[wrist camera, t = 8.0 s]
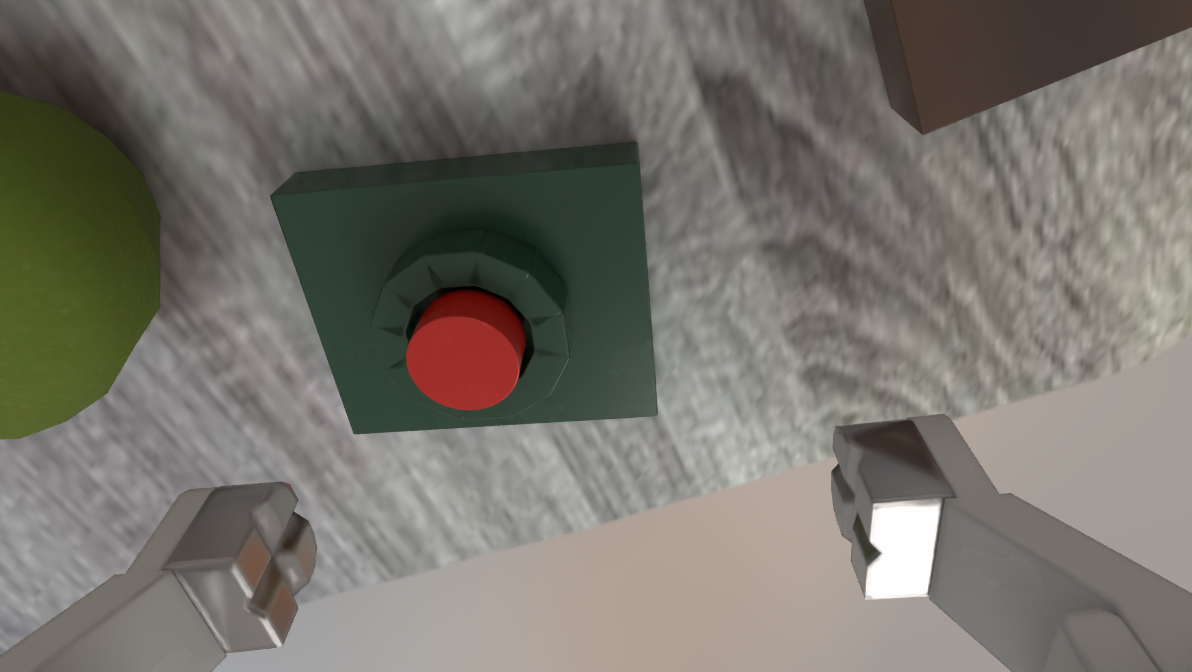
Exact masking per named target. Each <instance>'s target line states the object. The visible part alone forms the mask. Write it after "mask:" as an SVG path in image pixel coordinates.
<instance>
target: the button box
mask: <svg viewBox="0 0 1192 672" xmlns="http://www.w3.org/2000/svg"><path fill="white" fill-rule="evenodd" d="M270 197H271V200H272V203H273V206H274V209H275V212H276V215H277V217H278V220H279V223H280V226H281V229H282V232H283V234H284V237H285V240H286V243H287V246H288V249H289V251H290V254H291V257H292V260H293V263H294V266H295V269H296V271H297V274H298V277H299V280H300V283H301V286H302V288H303V291H304V294H305V297H306V300H307V303H308V305H309V308H310V311H311V314H312V317H313V320H314V323H315V325H316V328H317V331H318V334H319V337H320V340H321V342H322V345H323V348H324V351H325V354H326V357H327V360H328V362H329V365H330V368H331V371H332V374H333V377H334V379H335V382H336V385H337V388H338V391H339V394H340V396H341V399H342V402H343V405H344V408H345V411H346V414H347V416H348V419H349V422H350V425H351V428H352V431H353V433H354V434H369V433H385V432H402V431H418V430H435V429H451V428H468V427H484V426H500V425H517V424H533V423H550V422H566V421H583V420H599V419H616V418H632V417H649V416H657V415H658V408H657V392H656V377H655V364H654V350H653V336H652V323H651V309H650V295H649V282H648V268H647V255H646V241H645V227H644V214H643V200H642V186H641V173H640V159H639V146H638V142H628V143H617V144H606V145H595V146H584V147H573V148H562V149H551V150H540V151H529V152H518V153H507V154H496V155H485V156H474V157H463V158H452V159H441V160H430V161H419V162H408V163H397V164H386V165H376V166H365V167H354V168H343V169H332V170H321V171H310V172H299V173H294V174H293V175H292V176H291V177H290V178H289V179H288V180H287V181H286V182H284V183H283V184H282V185H281V186H280V187H279V188H278V189H277V190H276V191H274V192H273V193H272V194H271V195H270ZM456 290H477V291H482V292H485V293H488V294H491V295H493V296H495V297H497V298H499V299H500V300H502V301H504V302H505V303H506V304H507V305H509V306H510V307H511V308H512V309H513V310H514V312H515V313H516V314H517V316H518V317H519V319H520V321H521V323H522V325H523V328H524V332H525V339H526V340H525V349H524V353H523V358H522V363H521V368H520V372H519V377H518V380H517V383H516V385H515V387H514V389H513V390H512V391H511V393H510V394H509V395H508V396H507V397H506V398H505V399H503V400H502V401H500V402H499V403H497V404H495V405H493V406H490V407H487V408H483V409H478V410H460V409H454V408H450V407H447V406H444V405H442V404H440V403H437V402H436V401H434V400H432V399H431V398H429V397H428V396H426V395H425V394H424V393H423V392H422V391H421V390H420V389H419V388H418V387H417V386H416V384H415V383H414V381H413V380H412V378H411V376H410V374H409V371H408V368H407V363H406V351H407V347H408V344H409V341H410V339H411V337H412V335H413V333H414V331H415V328H416V326H417V324H418V322H419V320H420V318H421V315H422V313H423V311H424V310H425V308H426V307H427V306H428V305H429V304H430V303H431V302H432V301H433V300H434V299H436V298H437V297H439V296H441V295H443V294H445V293H448V292H452V291H456Z"/></svg>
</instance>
